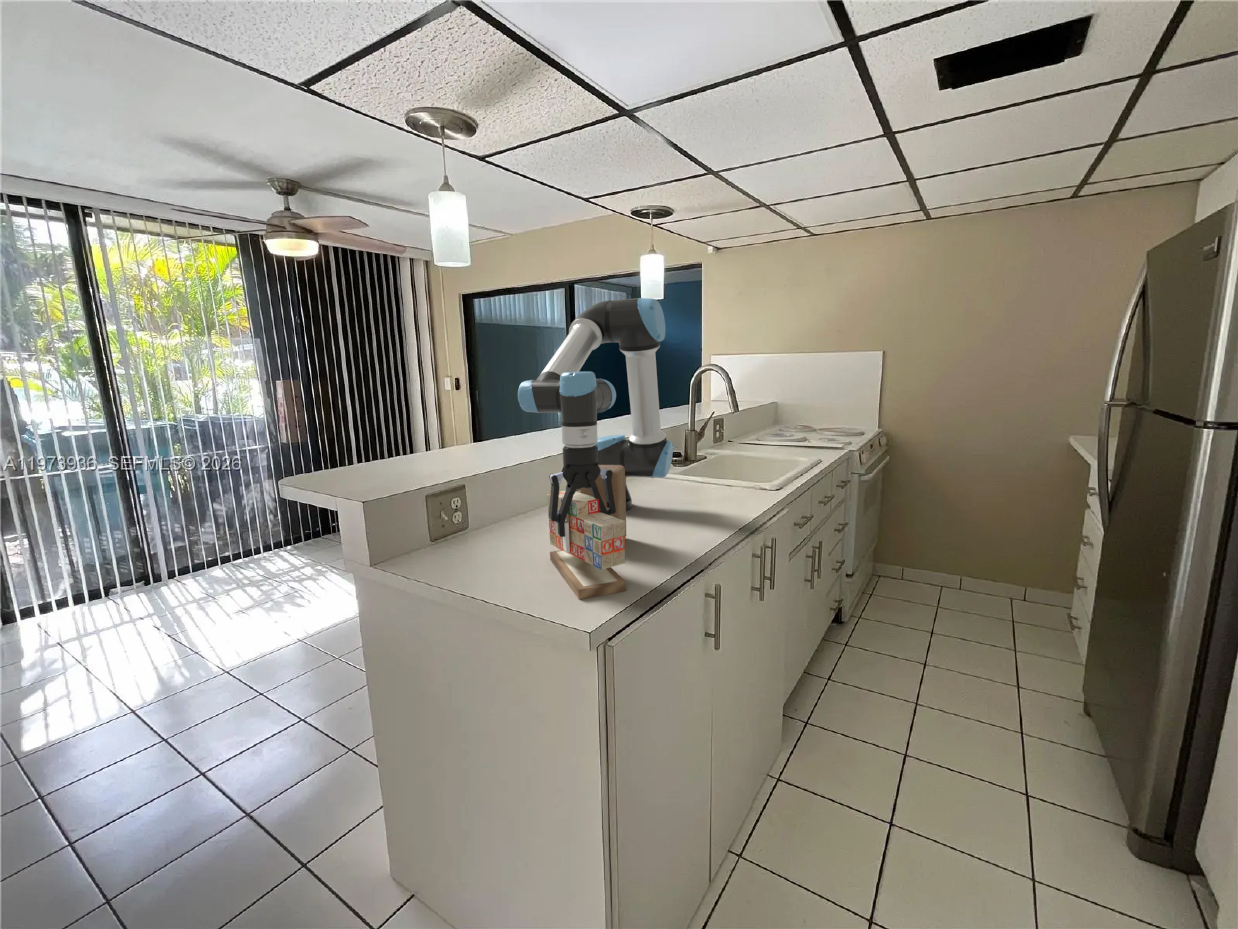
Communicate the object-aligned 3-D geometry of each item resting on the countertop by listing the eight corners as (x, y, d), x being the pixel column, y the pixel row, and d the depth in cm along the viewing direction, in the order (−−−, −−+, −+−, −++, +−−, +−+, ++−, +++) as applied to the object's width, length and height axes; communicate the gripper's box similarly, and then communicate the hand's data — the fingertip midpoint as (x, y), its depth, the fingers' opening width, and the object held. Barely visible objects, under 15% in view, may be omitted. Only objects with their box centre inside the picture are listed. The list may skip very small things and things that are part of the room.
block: (619, 550, 134) (617, 472, 131) (581, 548, 136) (578, 471, 133) (627, 537, 144) (625, 464, 140) (591, 536, 146) (588, 464, 142)
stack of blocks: (626, 563, 112) (625, 506, 109) (601, 571, 108) (599, 512, 106) (572, 538, 129) (570, 488, 126) (549, 544, 125) (546, 492, 123)
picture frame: (589, 553, 133) (589, 545, 132) (625, 590, 110) (625, 581, 110) (550, 559, 129) (549, 551, 129) (578, 599, 107) (578, 589, 107)
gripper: (537, 451, 107) (542, 560, 112) (630, 443, 114) (632, 546, 119) (529, 446, 114) (535, 548, 119) (618, 439, 121) (620, 536, 126)
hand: (583, 547), depth 119 cm, fingers closed on stack of blocks, 7 cm apart
